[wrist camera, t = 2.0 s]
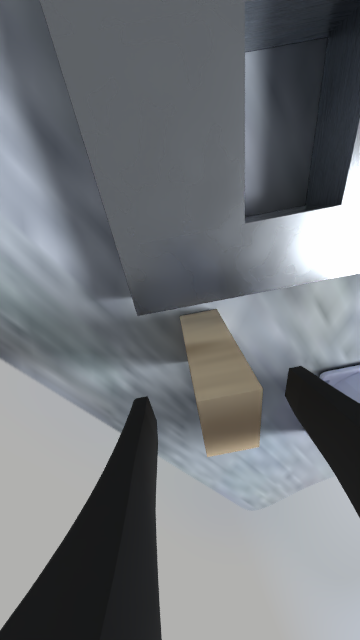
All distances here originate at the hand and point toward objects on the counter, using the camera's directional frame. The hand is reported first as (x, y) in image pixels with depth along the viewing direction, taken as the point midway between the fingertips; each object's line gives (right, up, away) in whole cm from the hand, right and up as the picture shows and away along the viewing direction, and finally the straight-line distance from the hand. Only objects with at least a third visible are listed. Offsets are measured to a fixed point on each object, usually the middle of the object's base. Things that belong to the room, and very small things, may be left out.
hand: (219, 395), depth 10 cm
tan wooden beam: (0, +3, +5) cm, 5 cm away
